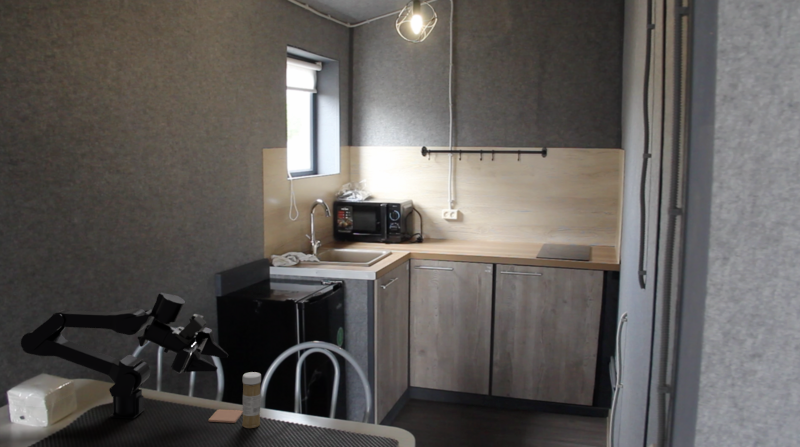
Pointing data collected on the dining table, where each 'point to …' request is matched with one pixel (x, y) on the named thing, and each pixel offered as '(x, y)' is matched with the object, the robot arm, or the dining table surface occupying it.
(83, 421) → the dining table surface
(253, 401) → the sprinkles bottle
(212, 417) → the tile
